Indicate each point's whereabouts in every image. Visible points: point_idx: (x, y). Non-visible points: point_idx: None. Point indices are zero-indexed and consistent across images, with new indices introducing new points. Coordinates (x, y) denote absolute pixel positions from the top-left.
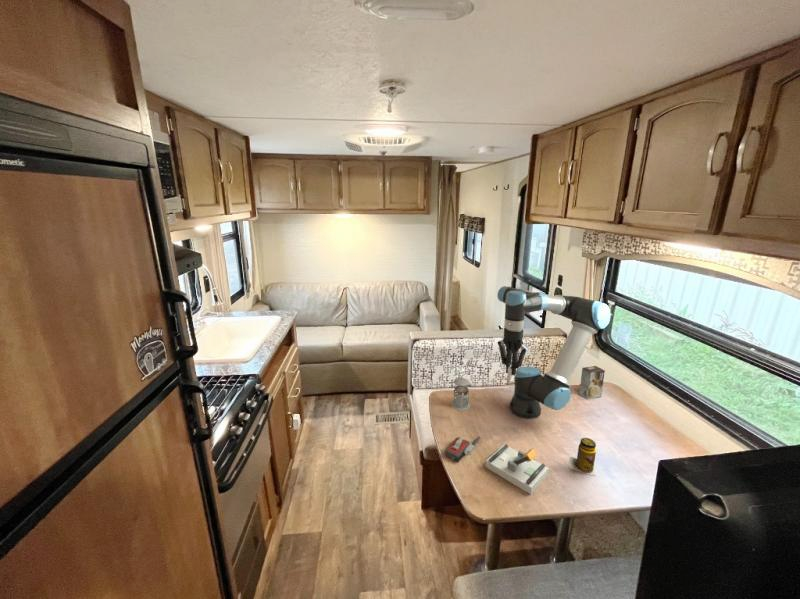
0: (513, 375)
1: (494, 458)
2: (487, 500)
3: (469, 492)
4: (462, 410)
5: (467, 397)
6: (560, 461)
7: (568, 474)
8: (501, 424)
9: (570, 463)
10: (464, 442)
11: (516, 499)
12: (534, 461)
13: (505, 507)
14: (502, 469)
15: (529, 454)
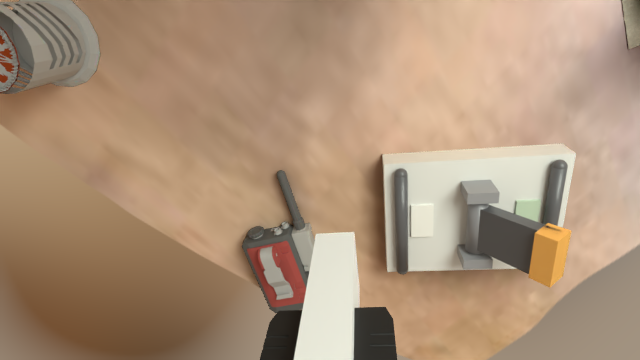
0: (354, 278)
1: (407, 259)
2: (459, 335)
3: (411, 344)
4: (95, 70)
5: (46, 43)
6: (583, 37)
7: (629, 85)
8: (270, 12)
9: (625, 16)
10: (280, 251)
11: (517, 289)
12: (518, 161)
13: (505, 324)
14: (448, 267)
15: (554, 274)
